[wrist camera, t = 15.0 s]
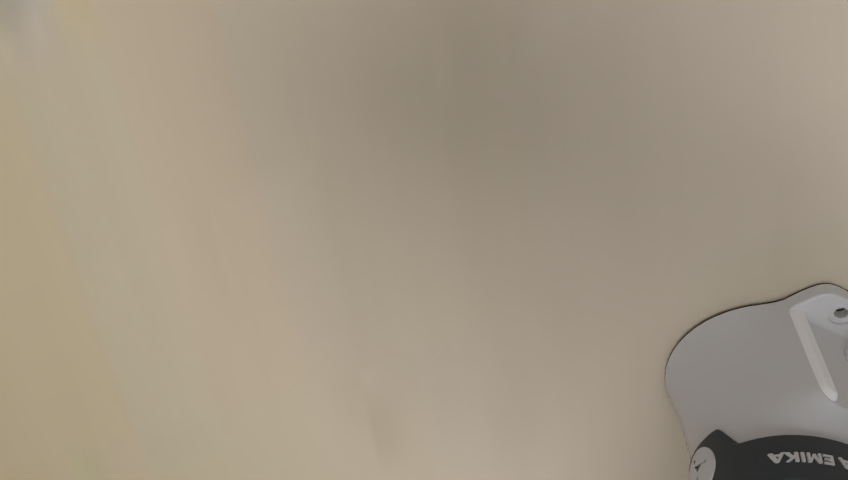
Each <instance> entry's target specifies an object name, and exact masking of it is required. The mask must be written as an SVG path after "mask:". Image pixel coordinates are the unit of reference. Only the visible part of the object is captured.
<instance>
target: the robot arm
mask: <svg viewBox="0 0 848 480" xmlns="http://www.w3.org/2000/svg"><path fill="white" fill-rule="evenodd" d="M839 308H845V309H844V310H842V311H836V310H837V309H839ZM665 385H666V390H667V394H668V397H669V399H670V401H671V403H672V405H673V407H674V409H675V411H676V413H677V415H678V418H679V420H680V423H681V426H682V429H683V432H684V436H685V439H686V443H687V447H688V451H689V456H690V460H691V462H690V468H689V480H848V291H846V290H844V289H842V288H840V287H838V286H835V285H831V284H821V285H817V286H813V287H811V288H808V289H806V290H803V291H801V292H799V293H797V294H795V295H793V296H791V297H789V298H787V299H785V300H782V301H778V302H774V303H769V304H762V305H755V306H749V307H744V308H740V309H736V310H732V311H729V312H726V313H723V314H721V315H718V316H716V317H714V318H711V319H709V320H708V321H706V322H704V323H702V324H701V325H699V326H698V327H696V328H695V329H693V330H692V331H691V332H690V333H688V334H687V335H686V336H685V337H684V338H683V339H682V340H681V341H680V342H679V344H678V345H677V346H676V348H675V349H674V351H673V352H672V354H671V356H670V358H669V361H668V363H667V367H666V372H665Z"/></svg>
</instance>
